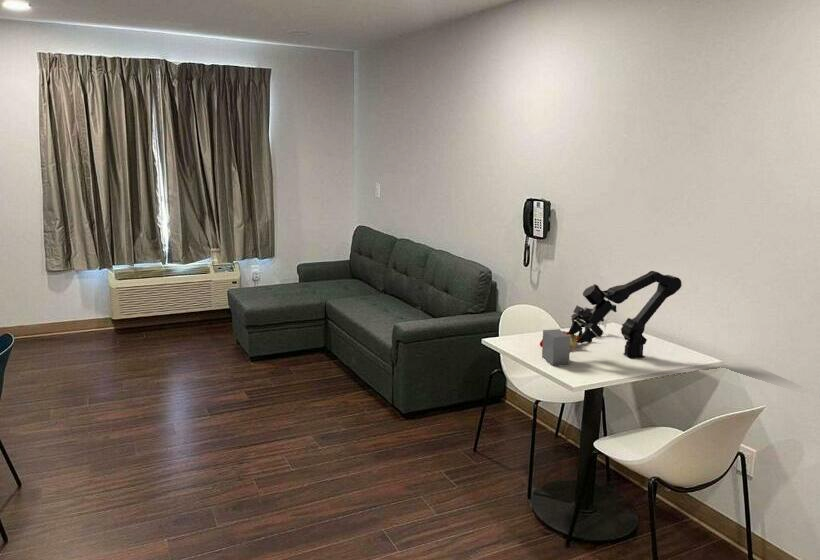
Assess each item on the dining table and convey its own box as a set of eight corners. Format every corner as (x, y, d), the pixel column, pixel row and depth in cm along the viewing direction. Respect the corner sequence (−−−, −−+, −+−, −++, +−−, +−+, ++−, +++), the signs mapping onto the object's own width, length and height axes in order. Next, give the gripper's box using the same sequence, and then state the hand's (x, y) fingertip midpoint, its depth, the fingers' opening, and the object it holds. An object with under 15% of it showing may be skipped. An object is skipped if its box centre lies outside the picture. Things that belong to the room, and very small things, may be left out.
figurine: (597, 332, 287) (553, 333, 269) (594, 351, 287) (550, 353, 270) (577, 327, 296) (532, 327, 278) (574, 345, 297) (529, 346, 279)
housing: (557, 356, 268) (558, 329, 265) (568, 365, 257) (570, 336, 255) (542, 357, 266) (543, 330, 264) (552, 366, 256) (553, 337, 253)
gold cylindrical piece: (570, 346, 265) (570, 332, 264) (576, 350, 259) (577, 336, 258) (552, 347, 264) (552, 333, 262) (558, 351, 258) (558, 337, 257)
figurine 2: (597, 340, 297) (612, 329, 300) (589, 319, 293) (604, 308, 295) (586, 336, 304) (601, 325, 307) (578, 315, 300) (593, 305, 302)
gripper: (576, 294, 268) (550, 321, 268) (597, 304, 250) (569, 332, 250) (593, 312, 271) (567, 338, 271) (614, 322, 253) (587, 350, 253)
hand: (572, 339), depth 261 cm, fingers open, 9 cm apart
